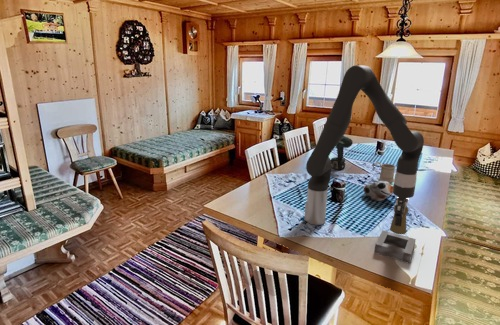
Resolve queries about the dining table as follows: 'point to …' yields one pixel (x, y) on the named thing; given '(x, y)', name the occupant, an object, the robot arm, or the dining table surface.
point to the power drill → (341, 153)
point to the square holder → (395, 246)
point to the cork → (401, 228)
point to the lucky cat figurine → (378, 190)
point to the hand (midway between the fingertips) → (398, 223)
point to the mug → (386, 172)
